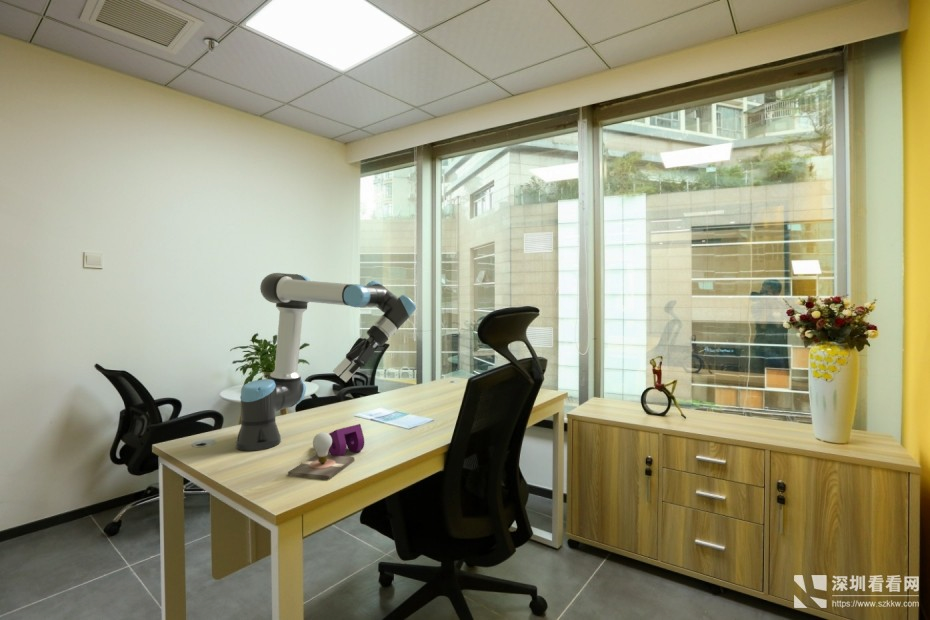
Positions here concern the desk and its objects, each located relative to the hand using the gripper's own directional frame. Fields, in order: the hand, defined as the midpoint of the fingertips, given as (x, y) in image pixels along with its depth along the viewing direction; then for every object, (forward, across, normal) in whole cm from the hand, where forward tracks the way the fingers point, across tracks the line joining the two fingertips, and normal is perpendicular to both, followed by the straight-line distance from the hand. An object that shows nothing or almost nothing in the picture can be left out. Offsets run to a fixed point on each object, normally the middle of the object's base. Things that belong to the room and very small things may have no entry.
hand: (338, 376), depth 151 cm
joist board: (+24, -8, -15) cm, 30 cm away
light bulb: (+24, -8, -14) cm, 28 cm away
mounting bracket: (+19, +8, -20) cm, 29 cm away
